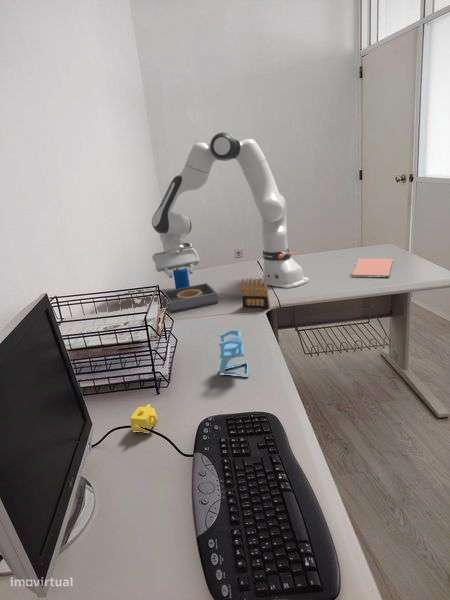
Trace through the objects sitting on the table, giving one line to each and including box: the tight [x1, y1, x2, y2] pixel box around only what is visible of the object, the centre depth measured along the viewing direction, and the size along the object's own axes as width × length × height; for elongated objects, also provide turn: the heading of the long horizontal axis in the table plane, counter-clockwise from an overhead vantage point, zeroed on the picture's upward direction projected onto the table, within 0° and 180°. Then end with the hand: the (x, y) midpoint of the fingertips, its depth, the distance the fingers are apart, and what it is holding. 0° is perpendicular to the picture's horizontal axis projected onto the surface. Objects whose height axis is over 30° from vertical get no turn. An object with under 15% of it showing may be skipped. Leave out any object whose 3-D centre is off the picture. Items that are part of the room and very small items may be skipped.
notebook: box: [349, 258, 394, 277], centre depth 189 cm, size 27×17×2 cm, turn 156°
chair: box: [218, 330, 250, 375], centre depth 112 cm, size 8×8×12 cm
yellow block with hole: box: [129, 404, 159, 432], centre depth 93 cm, size 8×6×5 cm
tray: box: [162, 282, 219, 314], centre depth 172 cm, size 16×20×4 cm
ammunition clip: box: [241, 278, 271, 310], centre depth 157 cm, size 11×2×12 cm, turn 69°
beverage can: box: [172, 266, 191, 289], centre depth 184 cm, size 6×6×12 cm
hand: (181, 275), depth 183 cm, fingers open, 8 cm apart
